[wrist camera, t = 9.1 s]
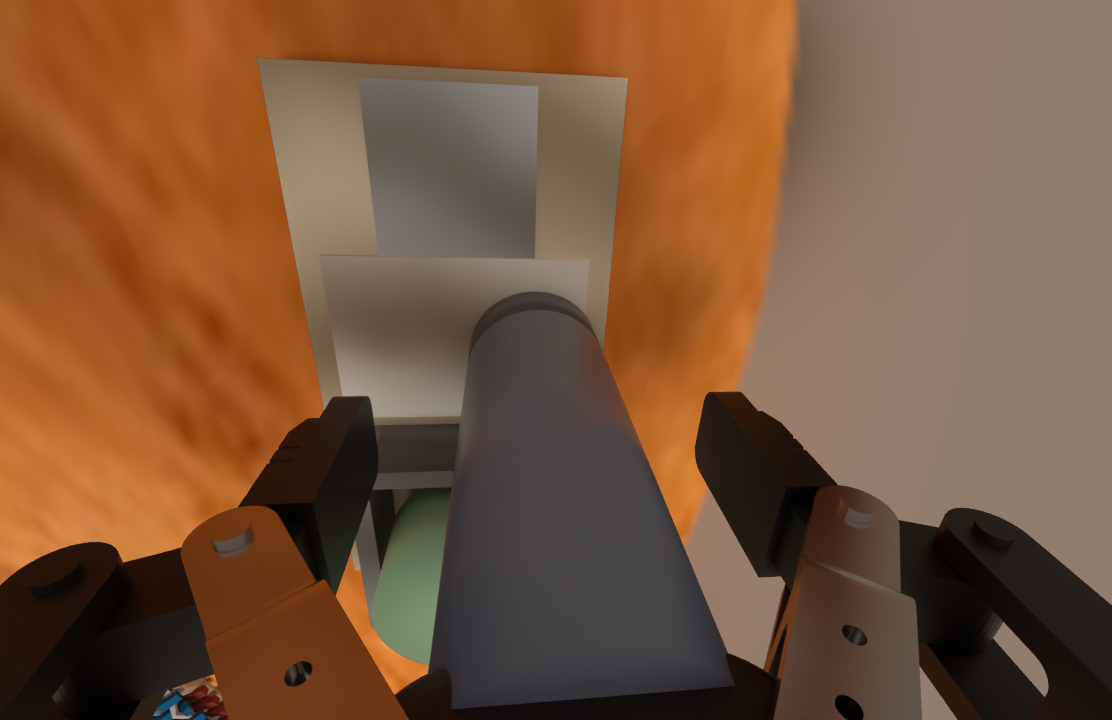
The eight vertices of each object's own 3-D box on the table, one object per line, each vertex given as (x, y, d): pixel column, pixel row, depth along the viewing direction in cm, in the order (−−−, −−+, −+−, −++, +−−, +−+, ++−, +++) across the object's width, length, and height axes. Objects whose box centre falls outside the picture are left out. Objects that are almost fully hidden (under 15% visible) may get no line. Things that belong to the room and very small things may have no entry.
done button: (536, 580, 18) (542, 661, 15) (400, 588, 17) (381, 673, 15) (539, 475, 16) (546, 547, 13) (384, 479, 15) (360, 556, 13)
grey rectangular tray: (580, 536, 21) (595, 613, 18) (362, 545, 20) (335, 629, 17) (618, 80, 14) (654, 69, 10) (276, 62, 13) (199, 43, 10)
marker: (541, 425, 17) (596, 858, 7) (443, 361, 15) (347, 797, 6) (622, 342, 16) (817, 724, 6) (525, 264, 14) (577, 603, 5)
